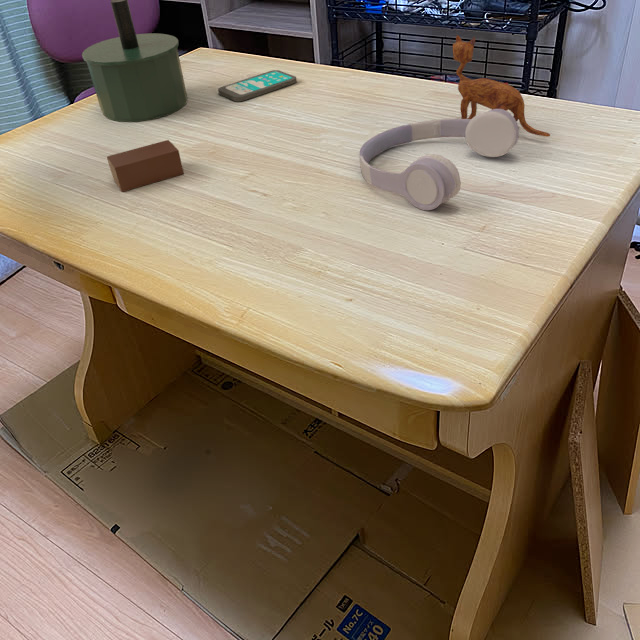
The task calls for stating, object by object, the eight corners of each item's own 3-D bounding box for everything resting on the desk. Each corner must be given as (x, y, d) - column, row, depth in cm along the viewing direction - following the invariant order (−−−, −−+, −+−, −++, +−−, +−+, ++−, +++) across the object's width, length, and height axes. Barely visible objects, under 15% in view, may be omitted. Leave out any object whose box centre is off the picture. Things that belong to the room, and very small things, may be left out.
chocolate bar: (122, 192, 95) (114, 167, 92) (113, 180, 98) (106, 156, 96) (184, 174, 98) (178, 150, 96) (173, 162, 102) (168, 139, 99)
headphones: (524, 154, 94) (412, 135, 106) (527, 107, 90) (410, 93, 101) (448, 217, 82) (330, 189, 93) (447, 167, 77) (324, 143, 89)
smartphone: (214, 87, 125) (274, 68, 132) (215, 92, 126) (275, 73, 133) (238, 97, 120) (299, 77, 127) (238, 102, 121) (299, 81, 127)
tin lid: (96, 76, 108) (79, 18, 102) (74, 52, 120) (58, 0, 115) (192, 54, 114) (182, -1, 108) (162, 34, 127) (151, -16, 121)
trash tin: (114, 129, 115) (98, 70, 108) (94, 103, 127) (77, 49, 120) (199, 107, 121) (187, 50, 114) (171, 85, 132) (160, 32, 126)
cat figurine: (557, 135, 99) (573, 45, 90) (539, 151, 95) (554, 58, 87) (458, 114, 109) (464, 30, 100) (438, 127, 105) (442, 41, 96)
